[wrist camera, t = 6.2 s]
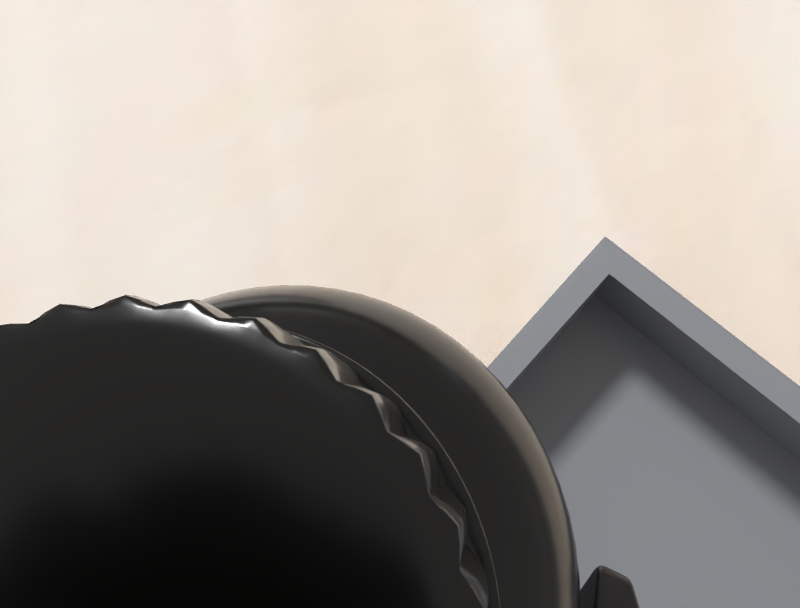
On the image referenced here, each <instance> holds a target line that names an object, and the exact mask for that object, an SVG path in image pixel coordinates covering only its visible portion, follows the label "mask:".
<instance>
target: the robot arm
mask: <svg viewBox="0 0 800 608" xmlns="http://www.w3.org/2000/svg"><path fill="white" fill-rule="evenodd" d="M580 608H639V605H638V601H637V598H636V594H635V591H634V588H633V585H632V583H631V581H630V580H629V578H627V577H626V576H624V575H622V574H620V573H618V572H616V571H614V570H612V569H610V568H608V567H606V566H602V565H601V566H598V567H597V568H595V569H594V571H593V572H592V574H591V575H590V577H589V578H588V580H587V581H586V582H585V584H584V585H583V587H582V588H581V590H580Z"/></svg>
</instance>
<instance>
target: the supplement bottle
mask: <svg viewBox="0 0 800 608" xmlns="http://www.w3.org/2000/svg"><path fill="white" fill-rule="evenodd" d="M0 608H580V577H579V568H578V559H577V550H576V543H575V539H574V534H573V529H572V524H571V519H570V514H569V511H568V508H567V505H566V501H565V498H564V495H563V492H562V488H561V485H560V482H559V480H558V478H557V475H556V473H555V470H554V468H553V465H552V463H551V461H550V458H549V456H548V454H547V452H546V450H545V448H544V446H543V444H542V442H541V441H540V439H539V437H538V435H537V433H536V431H535V429H534V428H533V426H532V424H531V423H530V421H529V420H528V418H527V417H526V415H525V414H524V412H523V411H522V409H521V408H520V406H519V405H518V403H517V402H516V401H515V399H514V398H513V397H512V396H511V394H510V393H509V392H508V391H507V389H506V388H505V387H504V386H503V384H502V383H501V382H500V381H499V380H498V379H497V378H496V377H495V376H494V374H493V373H492V372H491V371H490V370H489V369H488V368H487V367H486V366H485V365H484V364H483V363H482V362H481V361H480V360H479V359H478V358H476V357H475V356H474V355H473V354H472V353H470V352H469V351H468V350H467V349H466V348H465V347H463V346H462V345H461V344H460V343H459V342H457V341H456V340H454V339H453V338H452V337H450V336H449V335H447V334H446V333H444V332H443V331H441V330H440V329H439V328H437V327H436V326H434V325H432V324H430V323H429V322H427V321H425V320H423V319H421V318H420V317H418V316H416V315H414V314H412V313H410V312H408V311H406V310H403V309H401V308H399V307H396V306H394V305H392V304H389V303H387V302H384V301H381V300H378V299H375V298H372V297H368V296H365V295H362V294H358V293H353V292H348V291H344V290H339V289H333V288H324V287H315V286H290V285H280V286H268V287H256V288H250V289H245V290H239V291H234V292H229V293H225V294H221V295H218V296H214V297H211V298H207V299H204V300H201V301H200V300H193V299H191V300H185V301H178V302H172V303H168V304H164V305H159V304H157V303H154V302H152V301H149V300H146V299H143V298H140V297H137V296H131V295H124V296H122V297H119V298H116V299H113V300H110V301H108V302H106V303H105V304H103V305H101V306H98V307H95V308H90V307H86V306H78V305H70V304H59V305H57V306H56V307H54V308H52V309H50V310H48V311H47V312H45V313H44V314H42V315H41V316H40V317H39V318H37V319H36V320H34V321H32V322H30V323H29V324H6V325H0Z"/></svg>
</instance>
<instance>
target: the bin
mask: <svg viewBox="0 0 800 608" xmlns="http://www.w3.org/2000/svg"><path fill="white" fill-rule="evenodd" d="M488 369H489V370H490V371H491V372H492V373H493V374H494V376H495V377H496V378H497V379H498V380H499V381H500V382H501V383H502V384H503V386H504V387H505V388H506V389H507V391H508V392H509V393H510V394H511V396H512V397H513V398H514V399H515V401H516V402H517V403H518V405H519V406H520V408H521V409H522V411H523V412H524V414H525V415H526V417H527V418H528V420H529V421H530V423H531V424H532V426H533V428H534V429H535V431H536V433H537V435H538V437H539V439H540V441H541V442H542V444H543V446H544V448H545V450H546V452H547V454H548V456H549V458H550V461H551V463H552V465H553V468H554V470H555V473H556V475H557V478H558V480H559V482H560V485H561V488H562V492H563V495H564V498H565V501H566V505H567V508H568V511H569V514H570V519H571V524H572V529H573V534H574V539H575V543H576V550H577V559H578V568H579V577H580V590H581V588H582V587H583V585H584V584H585V582H586V581H587V580H588V578H589V577H590V575H591V574H592V572H593V571H594V569H595V568H597V567H598V566H601V565H602V566H606V567H608V568H610V569H612V570H614V571H616V572H618V573H620V574H622V575H624V576H626V577H627V578H629V580H630V581H631V583H632V585H633V588H634V591H635V594H636V598H637V601H638V605H639V608H800V386H799V385H797V384H796V383H795V382H793V381H792V380H791V379H790V378H788V377H787V376H786V375H784V374H783V373H782V372H781V371H779V370H778V369H777V368H775V367H774V366H773V365H771V364H770V363H769V362H768V361H766V360H765V359H764V358H762V357H761V356H760V355H758V354H757V353H756V352H755V351H753V350H752V349H751V348H749V347H748V346H747V345H745V344H744V343H743V342H742V341H740V340H739V339H738V338H736V337H735V336H734V335H732V334H731V333H730V332H729V331H727V330H726V329H725V328H723V327H722V326H721V325H719V324H718V323H717V322H716V321H714V320H713V319H712V318H710V317H709V316H708V315H707V314H705V313H704V312H703V311H701V310H700V309H699V308H697V307H696V306H695V305H694V304H692V303H691V302H690V301H688V300H687V299H686V298H684V297H683V296H682V295H681V294H679V293H678V292H677V291H675V290H674V289H673V288H671V287H670V286H669V285H668V284H666V283H665V282H664V281H662V280H661V279H660V278H658V277H657V276H656V275H655V274H653V273H652V272H651V271H649V270H648V269H647V268H646V267H644V266H643V265H642V264H640V263H639V262H638V261H636V260H635V259H634V258H633V257H631V256H630V255H629V254H627V253H626V252H625V251H623V250H622V249H621V248H620V247H618V246H617V245H616V244H614V243H613V242H612V241H610V240H609V239H608V238H607V237H604V238H603V239H602V240H601V242H600V243H599V244H598V245H597V246H596V247H595V248H594V249H593V250H592V252H591V253H590V254H589V255H588V256H587V257H586V258H585V259H584V261H583V262H582V263H581V264H580V265H579V266H578V267H577V268H576V269H575V271H574V272H573V273H572V274H571V275H570V276H569V277H568V278H567V279H566V281H565V282H564V283H563V284H562V285H561V286H560V287H559V288H558V290H557V291H556V292H555V293H554V294H553V295H552V296H551V297H550V298H549V300H548V301H547V302H546V303H545V304H544V305H543V306H542V307H541V308H540V310H539V311H538V312H537V313H536V314H535V315H534V316H533V317H532V319H531V320H530V321H529V322H528V323H527V324H526V325H525V326H524V327H523V329H522V330H521V331H520V332H519V333H518V334H517V335H516V336H515V337H514V339H513V340H512V341H511V342H510V343H509V344H508V345H507V346H506V348H505V349H504V350H503V351H502V352H501V353H500V354H499V355H498V356H497V358H496V359H495V360H494V361H493V362H492V363H491V364H490V365H489V366H488Z"/></svg>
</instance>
